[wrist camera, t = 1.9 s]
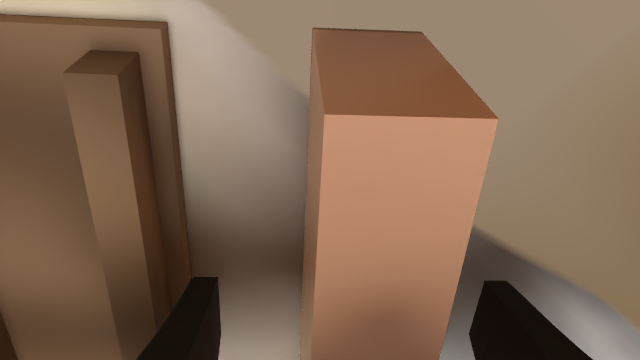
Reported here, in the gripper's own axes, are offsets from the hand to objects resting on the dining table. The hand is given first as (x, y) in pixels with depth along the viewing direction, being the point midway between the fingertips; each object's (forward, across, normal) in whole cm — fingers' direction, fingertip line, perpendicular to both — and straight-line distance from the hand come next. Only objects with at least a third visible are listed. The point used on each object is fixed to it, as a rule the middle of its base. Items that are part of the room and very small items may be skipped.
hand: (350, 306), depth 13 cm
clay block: (+2, 0, 0) cm, 2 cm away
